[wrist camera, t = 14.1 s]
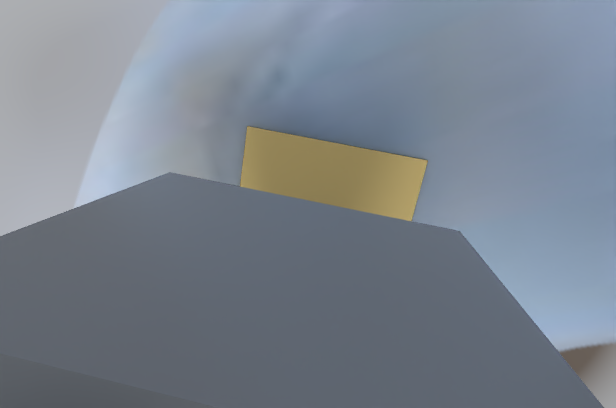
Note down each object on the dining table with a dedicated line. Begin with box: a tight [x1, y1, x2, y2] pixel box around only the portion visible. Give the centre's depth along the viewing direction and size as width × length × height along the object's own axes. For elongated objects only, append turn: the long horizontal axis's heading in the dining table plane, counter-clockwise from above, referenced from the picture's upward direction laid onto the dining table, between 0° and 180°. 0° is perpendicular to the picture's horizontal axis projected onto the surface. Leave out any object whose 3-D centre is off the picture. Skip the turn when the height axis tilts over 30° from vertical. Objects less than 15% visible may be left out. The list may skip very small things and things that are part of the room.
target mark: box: [240, 126, 428, 221], centre depth 25 cm, size 12×12×1 cm
